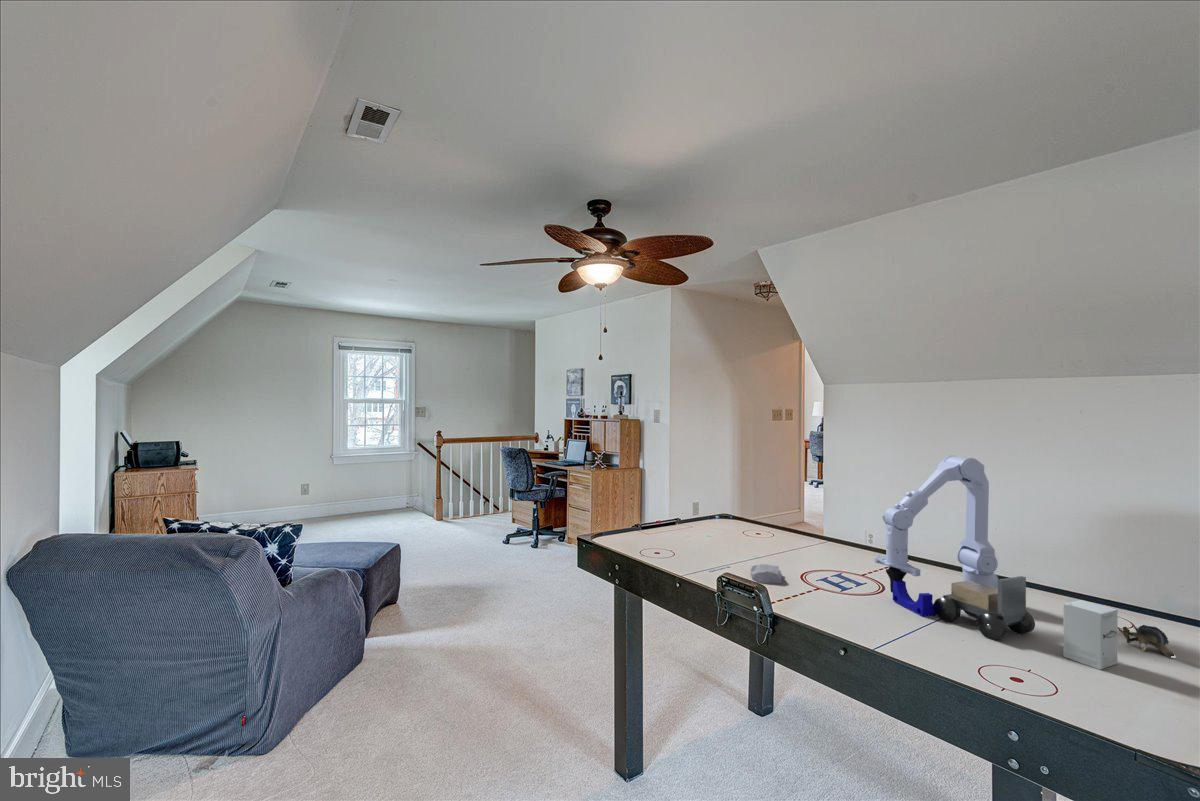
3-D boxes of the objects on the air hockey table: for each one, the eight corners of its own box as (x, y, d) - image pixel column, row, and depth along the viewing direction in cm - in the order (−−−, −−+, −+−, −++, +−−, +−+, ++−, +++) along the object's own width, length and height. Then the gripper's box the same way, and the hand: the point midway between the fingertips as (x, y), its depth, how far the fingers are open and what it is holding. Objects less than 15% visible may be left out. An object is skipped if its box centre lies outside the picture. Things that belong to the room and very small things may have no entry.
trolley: (966, 611, 154) (966, 558, 154) (1035, 636, 137) (1035, 577, 137) (933, 616, 150) (933, 562, 150) (1000, 643, 133) (1000, 582, 133)
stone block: (753, 588, 178) (784, 584, 176) (750, 573, 178) (781, 569, 176) (750, 578, 189) (779, 574, 187) (747, 565, 190) (776, 561, 188)
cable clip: (936, 615, 150) (937, 594, 150) (922, 616, 149) (922, 595, 149) (906, 599, 162) (906, 579, 162) (892, 600, 161) (893, 580, 161)
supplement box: (1101, 670, 119) (1101, 613, 119) (1062, 656, 126) (1061, 602, 126) (1119, 664, 122) (1118, 609, 122) (1079, 651, 129) (1079, 598, 129)
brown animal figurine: (1117, 643, 131) (1168, 651, 123) (1117, 614, 134) (1167, 620, 126) (1131, 655, 133) (1182, 664, 126) (1130, 627, 136) (1180, 633, 129)
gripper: (867, 543, 168) (866, 586, 168) (907, 555, 154) (907, 602, 154) (884, 541, 170) (883, 584, 170) (926, 553, 157) (925, 600, 157)
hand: (896, 593), depth 162 cm, fingers closed, pressing on cable clip
